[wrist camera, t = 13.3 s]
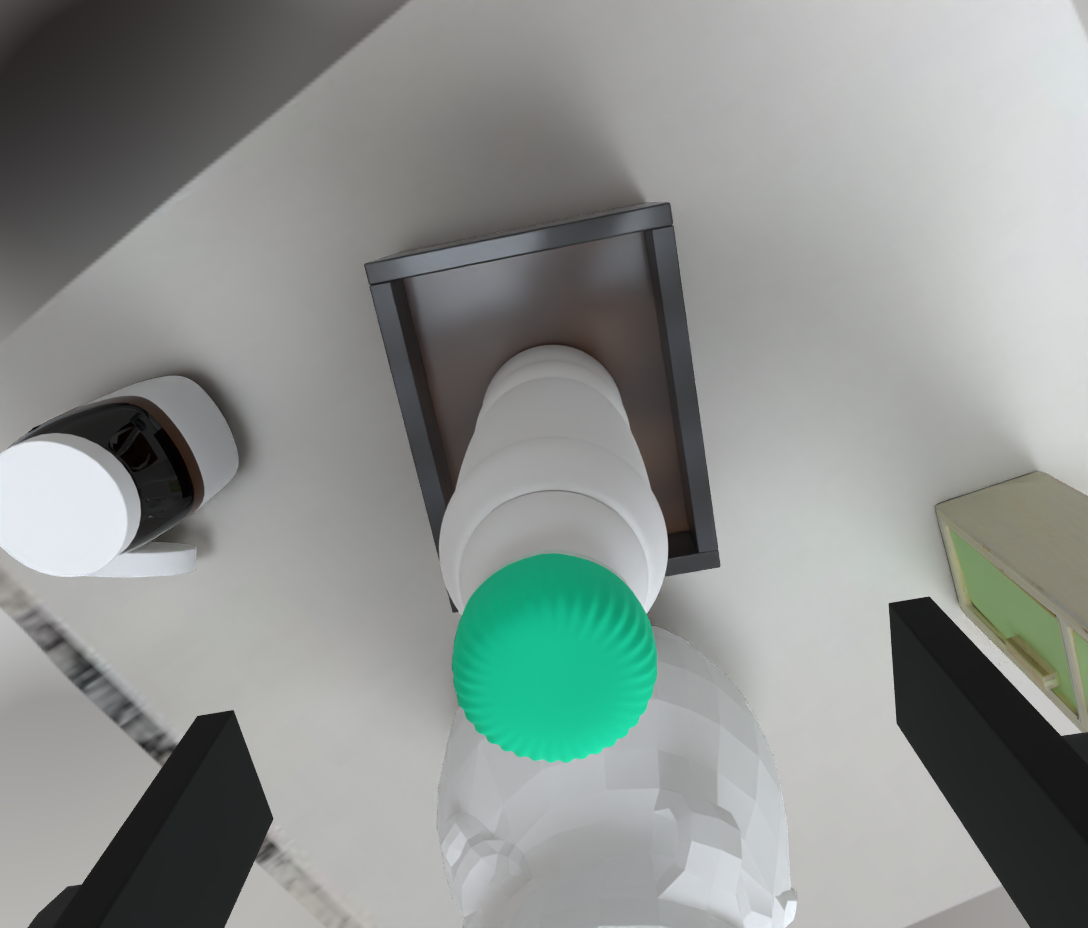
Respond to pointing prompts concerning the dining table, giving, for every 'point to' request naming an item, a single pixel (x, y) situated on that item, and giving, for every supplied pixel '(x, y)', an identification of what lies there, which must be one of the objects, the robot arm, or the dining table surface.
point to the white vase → (625, 819)
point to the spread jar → (115, 481)
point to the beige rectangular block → (1027, 579)
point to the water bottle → (553, 561)
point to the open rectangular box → (551, 319)
